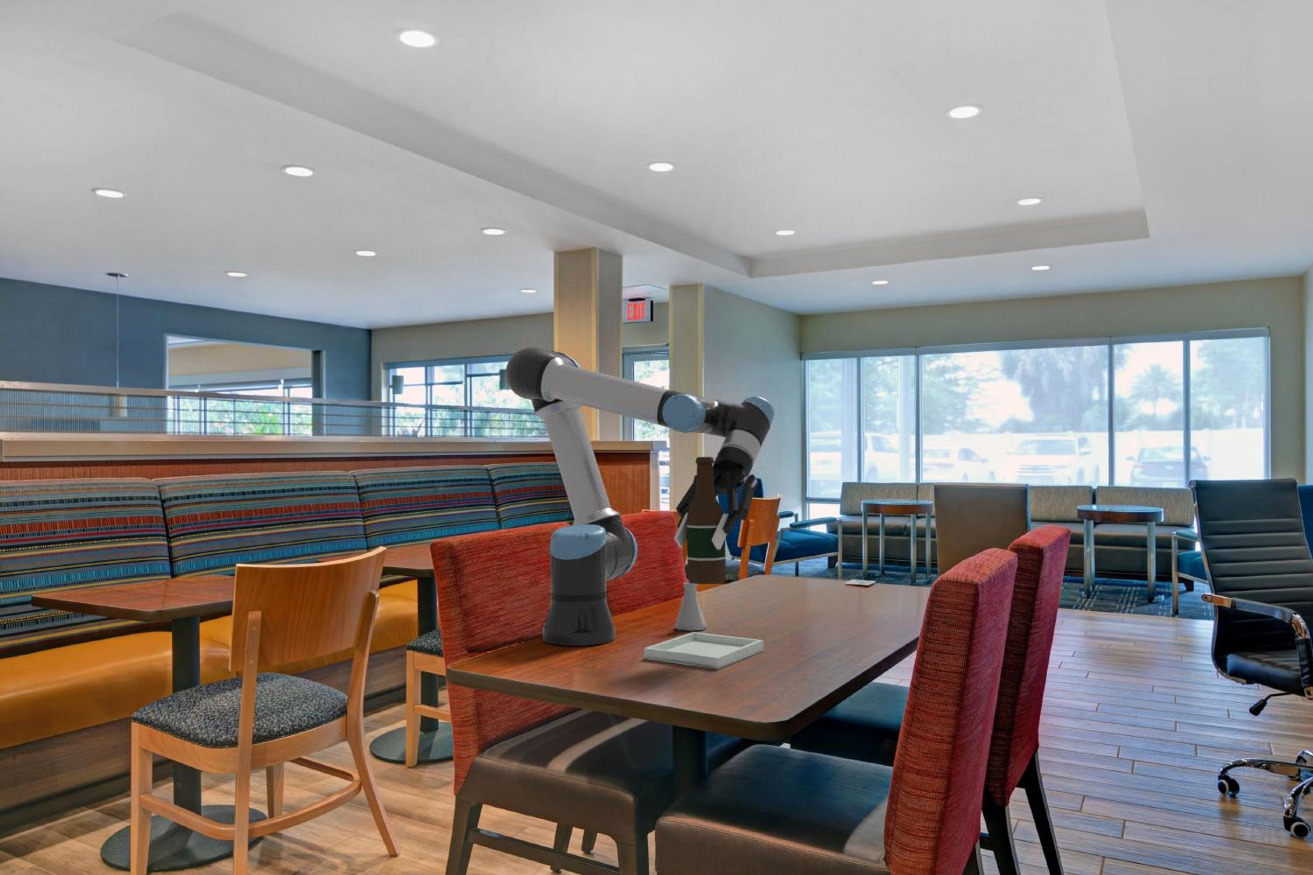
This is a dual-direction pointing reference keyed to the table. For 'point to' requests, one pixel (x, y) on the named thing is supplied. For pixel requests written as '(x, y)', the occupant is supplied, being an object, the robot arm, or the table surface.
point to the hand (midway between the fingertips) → (696, 543)
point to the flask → (690, 611)
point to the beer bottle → (704, 530)
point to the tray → (704, 650)
